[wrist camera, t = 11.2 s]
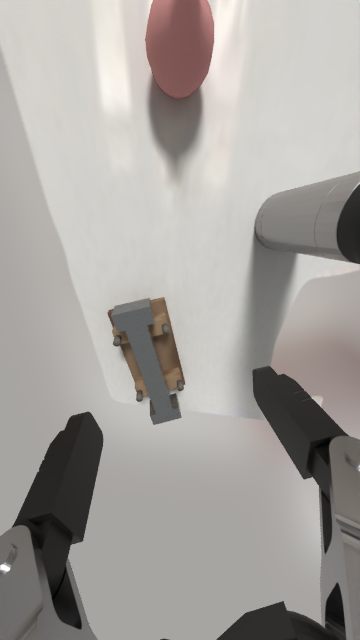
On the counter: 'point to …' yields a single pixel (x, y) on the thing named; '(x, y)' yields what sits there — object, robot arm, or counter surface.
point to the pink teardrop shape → (179, 44)
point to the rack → (164, 346)
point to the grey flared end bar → (147, 357)
